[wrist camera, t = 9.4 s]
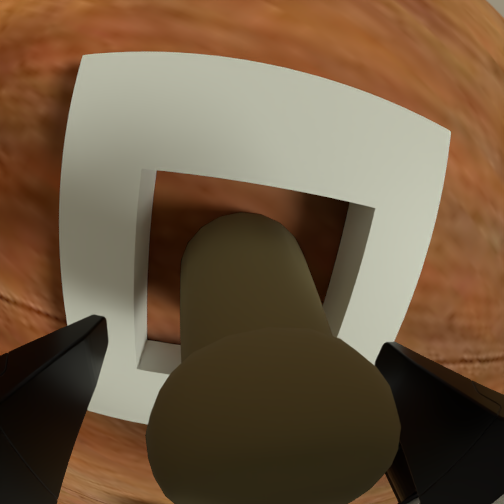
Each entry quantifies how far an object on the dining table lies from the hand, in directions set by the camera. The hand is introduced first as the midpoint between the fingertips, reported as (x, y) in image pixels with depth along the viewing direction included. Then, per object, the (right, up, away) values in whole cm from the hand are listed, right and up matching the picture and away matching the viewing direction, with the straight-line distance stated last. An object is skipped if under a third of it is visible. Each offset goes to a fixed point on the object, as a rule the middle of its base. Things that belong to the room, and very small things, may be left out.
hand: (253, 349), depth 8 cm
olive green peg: (-1, +2, +6) cm, 6 cm away
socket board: (-1, +2, +6) cm, 6 cm away
